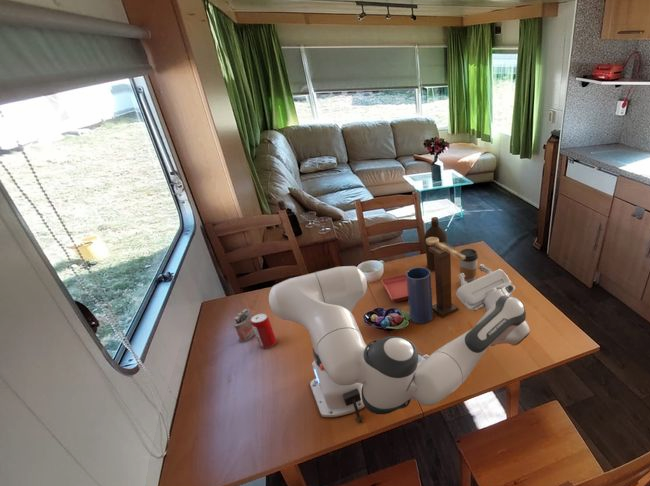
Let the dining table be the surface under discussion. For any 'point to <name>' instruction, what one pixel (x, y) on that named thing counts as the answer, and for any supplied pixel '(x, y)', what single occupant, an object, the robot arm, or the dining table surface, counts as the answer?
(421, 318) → the crock
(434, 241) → the spoon
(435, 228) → the olive oil
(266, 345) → the soda can
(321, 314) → the robot arm
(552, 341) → the dining table surface
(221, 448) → the dining table surface
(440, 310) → the stand
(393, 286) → the plant saucer
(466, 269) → the coffee cup
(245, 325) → the lighter
